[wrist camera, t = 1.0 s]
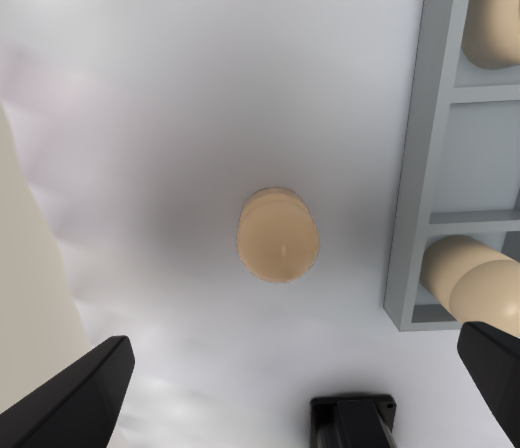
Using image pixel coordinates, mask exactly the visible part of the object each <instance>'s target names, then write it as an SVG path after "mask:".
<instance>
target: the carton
mask: <svg viewBox="0 0 520 448" xmlns="http://www.w3.org/2000/svg"><path fill="white" fill-rule="evenodd" d="M384 309H385V311H386V312H387V314H388V315H389V317H390V318H391V320H392V321H393V323H394V324H395V326H396V327H397V329H398V330H399V332H404V331H428V330H453V329H461V327H462V325H463V324H464V322H467V321H482V322H485V323H487V324H489V325H492V326H494V327H496V328H498V329H500V330H502V331H504V332H506V333H509V334H511V335H513V336H515V337H520V0H424V5H423V12H422V20H421V27H420V35H419V43H418V50H417V58H416V65H415V73H414V81H413V88H412V96H411V104H410V111H409V119H408V126H407V134H406V142H405V149H404V157H403V164H402V172H401V180H400V187H399V195H398V202H397V210H396V218H395V225H394V233H393V240H392V248H391V256H390V263H389V271H388V279H387V286H386V294H385V301H384Z"/></svg>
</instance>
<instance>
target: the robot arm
mask: <svg viewBox="0 0 520 448" xmlns="http://www.w3.org/2000/svg"><path fill="white" fill-rule="evenodd" d="M457 350H458V354H459V356H460V358H461V360H462V361H463V363H464V365H465V367H466V368H467V370H468V372H469V374H470V375H471V377H472V379H473V381H474V382H475V384H476V386H477V388H478V389H479V391H480V393H481V395H482V397H483V398H484V400H485V402H486V404H487V405H488V407H489V409H490V410H491V412H492V414H493V415H494V417H495V418H496V420H497V422H498V423H499V425H500V426H501V428H502V429H503V431H504V432H505V434H506V435H507V437H508V438H509V439H510V441H511V442H512V444H513V445H514V447H515V448H520V339H519V338H517V337H515V336H513V335H511V334H509V333H506V332H504V331H502V330H500V329H498V328H496V327H494V326H492V325H489V324H487V323H485V322H482V321H467V322H464V324H463V325H462V327H461V331H460V335H459V339H458V343H457ZM134 365H135V357H134V354H133V350H132V347H131V343H130V340H129V338H128V337H127V336H125V335H123V336H112V337H110V338H108V339H107V340H105V341H104V342H102V343H101V344H99V345H98V346H97V347H95V348H94V349H92V350H91V351H90V352H88V353H87V354H85V355H84V356H83V357H81V358H80V359H78V360H77V361H76V362H74V363H73V364H71V365H70V366H68V367H67V368H65V369H64V370H63V371H61V372H60V373H58V374H57V375H55V376H54V377H53V378H51V379H50V380H48V381H47V382H46V383H44V384H43V385H41V386H40V387H38V388H37V389H36V390H34V391H33V392H31V393H30V394H29V395H27V396H26V397H24V398H23V399H21V400H20V401H19V402H17V403H16V404H14V405H13V406H11V407H10V408H9V409H8V410H6V411H4V412H3V413H1V414H0V448H106V447H107V445H108V443H109V440H110V437H111V435H112V433H113V430H114V427H115V425H116V422H117V419H118V416H119V413H120V410H121V406H122V403H123V400H124V397H125V394H126V391H127V388H128V385H129V382H130V379H131V375H132V372H133V369H134ZM395 411H396V402H395V400H394V399H393V397H389V396H386V397H359V398H332V399H314V400H312V401H311V402H310V434H309V448H397V446H396V444H395V441H394V439H393V437H392V428H393V423H394V417H395Z"/></svg>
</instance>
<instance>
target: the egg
mask: <svg viewBox="0 0 520 448" xmlns="http://www.w3.org/2000/svg"><path fill="white" fill-rule="evenodd" d="M237 251H238V254H239V257H240V259H241V261H242V263H243V264H244V266H245V267H246V269H247V270H248V271H249V272H250V273H251V274H253V275H254V276H256V277H257V278H259V279H261V280H263V281H266V282H270V283H286V282H290V281H293V280H295V279H297V278H299V277H301V276H302V275H304V274H305V273H306V272H307V271H308V270H309V269H310V268H311V266H312V265H313V263H314V262H315V260H316V257H317V254H318V251H319V233H318V230H317V227H316V224H315V222H314V220H313V219H312V217H311V215H310V213H309V211H308V209H307V207H306V206H305V204H304V202H303V201H302V199H301V198H300V197H299V196H298V195H296V194H295V193H294V192H292V191H290V190H288V189H284V188H279V187H271V188H266V189H263V190H260V191H258V192H256V193H255V194H254V195H252V196H251V197H250V198H249V199H248V200H247V202H246V203H245V205H244V207H243V209H242V213H241V217H240V222H239V227H238V232H237Z"/></svg>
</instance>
